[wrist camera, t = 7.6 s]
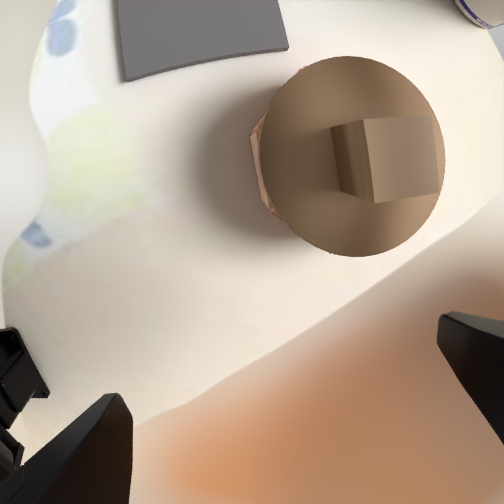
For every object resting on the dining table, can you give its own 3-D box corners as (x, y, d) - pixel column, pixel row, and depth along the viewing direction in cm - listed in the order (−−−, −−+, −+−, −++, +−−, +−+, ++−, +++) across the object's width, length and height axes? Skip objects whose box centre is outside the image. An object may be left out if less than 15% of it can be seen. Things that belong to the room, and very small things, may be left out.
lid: (276, 267, 15) (295, 311, 11) (240, 71, 13) (246, 35, 8) (439, 232, 15) (492, 257, 11) (418, 63, 13) (472, 43, 8)
